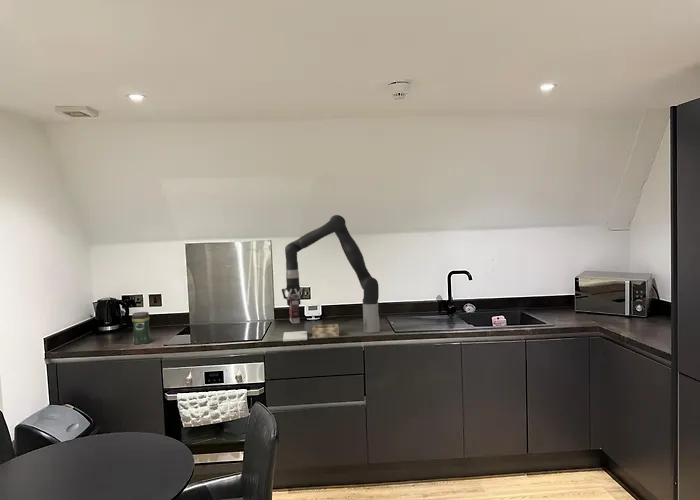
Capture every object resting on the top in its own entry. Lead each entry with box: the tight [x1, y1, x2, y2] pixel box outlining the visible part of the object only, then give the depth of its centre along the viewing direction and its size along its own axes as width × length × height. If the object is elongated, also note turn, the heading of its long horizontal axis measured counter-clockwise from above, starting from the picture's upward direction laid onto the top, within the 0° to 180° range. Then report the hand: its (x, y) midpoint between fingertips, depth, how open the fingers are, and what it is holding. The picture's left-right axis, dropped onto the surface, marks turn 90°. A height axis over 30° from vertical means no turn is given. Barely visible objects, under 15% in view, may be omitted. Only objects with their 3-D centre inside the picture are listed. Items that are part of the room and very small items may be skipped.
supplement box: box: [288, 294, 301, 324], centre depth 314 cm, size 9×5×16 cm, turn 15°
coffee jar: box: [131, 311, 152, 345], centre depth 315 cm, size 10×8×19 cm
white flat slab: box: [282, 330, 308, 342], centre depth 315 cm, size 14×20×1 cm
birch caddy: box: [311, 323, 340, 339], centre depth 316 cm, size 16×12×5 cm
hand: (294, 305), depth 314 cm, fingers closed on supplement box, 5 cm apart
